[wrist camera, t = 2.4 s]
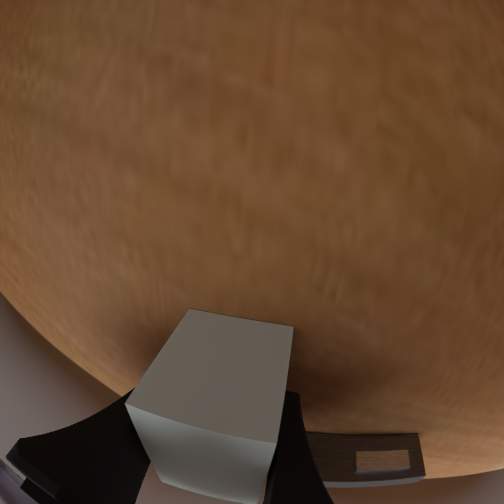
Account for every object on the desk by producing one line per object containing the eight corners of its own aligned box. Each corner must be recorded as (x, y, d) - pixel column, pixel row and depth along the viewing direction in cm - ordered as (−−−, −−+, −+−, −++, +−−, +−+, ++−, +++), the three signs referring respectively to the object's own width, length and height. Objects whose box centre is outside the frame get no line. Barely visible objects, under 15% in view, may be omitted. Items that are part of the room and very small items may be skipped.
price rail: (419, 431, 11) (427, 474, 9) (410, 442, 12) (416, 483, 9) (281, 427, 13) (272, 475, 10) (278, 438, 13) (269, 483, 10)
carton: (293, 326, 10) (276, 443, 6) (274, 418, 12) (256, 505, 8) (185, 307, 11) (120, 401, 6) (194, 402, 13) (158, 480, 8)
